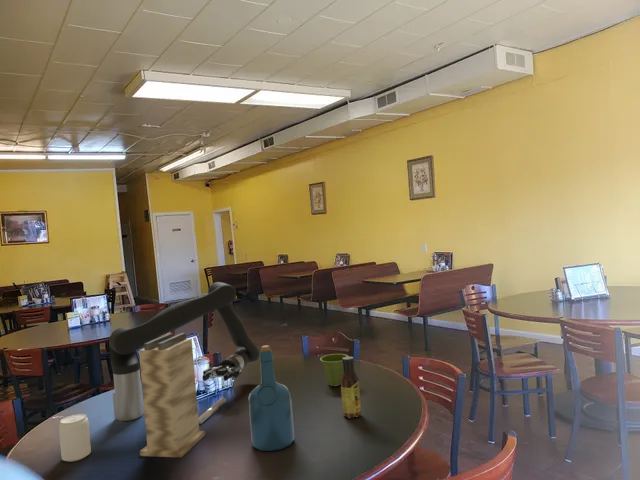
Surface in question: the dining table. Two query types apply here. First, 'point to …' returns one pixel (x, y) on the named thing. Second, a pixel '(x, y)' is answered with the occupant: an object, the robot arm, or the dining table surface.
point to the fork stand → (169, 396)
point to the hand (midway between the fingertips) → (214, 378)
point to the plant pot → (333, 368)
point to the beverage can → (74, 437)
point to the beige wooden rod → (211, 410)
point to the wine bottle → (270, 409)
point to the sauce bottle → (350, 389)
